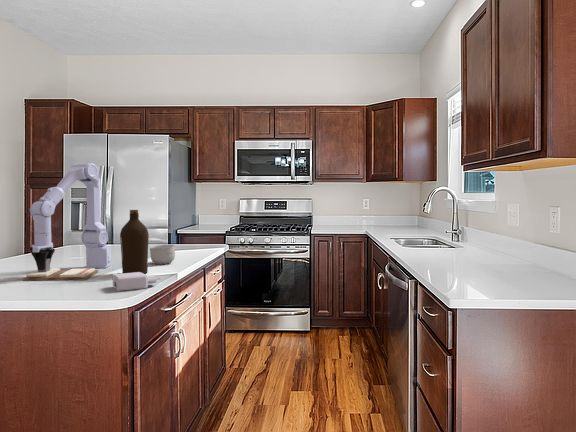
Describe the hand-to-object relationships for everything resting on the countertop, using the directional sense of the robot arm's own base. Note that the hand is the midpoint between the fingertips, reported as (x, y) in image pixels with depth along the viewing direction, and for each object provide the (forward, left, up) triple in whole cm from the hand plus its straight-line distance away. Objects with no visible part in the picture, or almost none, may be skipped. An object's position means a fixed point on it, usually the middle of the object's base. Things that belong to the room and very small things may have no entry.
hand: (43, 269), depth 186 cm
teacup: (-40, -31, -3) cm, 50 cm away
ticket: (-12, 0, -2) cm, 12 cm away
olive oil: (-33, -4, -3) cm, 33 cm away
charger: (-39, +23, -3) cm, 46 cm away
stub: (0, 0, -2) cm, 2 cm away
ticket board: (-7, 0, -3) cm, 7 cm away
